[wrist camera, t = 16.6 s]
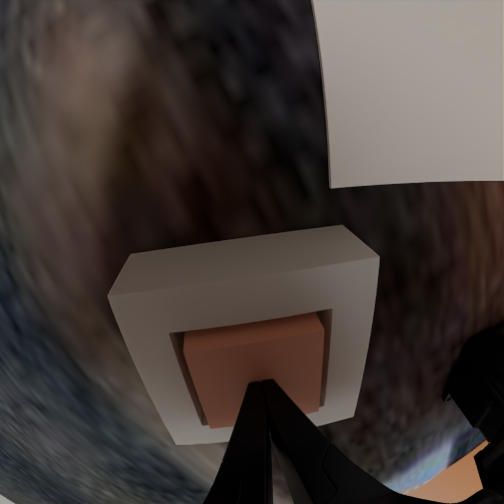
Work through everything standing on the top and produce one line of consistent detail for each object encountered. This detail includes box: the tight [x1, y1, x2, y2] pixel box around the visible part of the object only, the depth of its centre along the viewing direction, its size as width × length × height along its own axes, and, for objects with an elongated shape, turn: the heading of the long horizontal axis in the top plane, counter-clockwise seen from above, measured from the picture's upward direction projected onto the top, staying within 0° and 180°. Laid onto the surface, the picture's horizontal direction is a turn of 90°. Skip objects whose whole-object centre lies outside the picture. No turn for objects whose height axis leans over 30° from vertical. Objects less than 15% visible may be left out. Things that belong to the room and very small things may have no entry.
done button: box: [183, 312, 325, 429], centre depth 11 cm, size 4×4×2 cm
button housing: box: [107, 225, 380, 445], centre depth 11 cm, size 8×8×3 cm
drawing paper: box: [311, 0, 504, 188], centre depth 8 cm, size 18×17×1 cm
